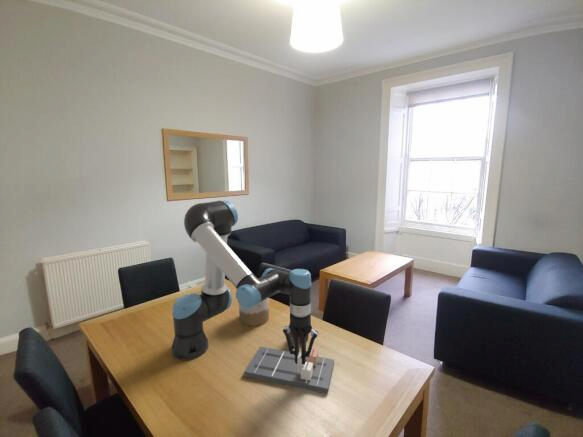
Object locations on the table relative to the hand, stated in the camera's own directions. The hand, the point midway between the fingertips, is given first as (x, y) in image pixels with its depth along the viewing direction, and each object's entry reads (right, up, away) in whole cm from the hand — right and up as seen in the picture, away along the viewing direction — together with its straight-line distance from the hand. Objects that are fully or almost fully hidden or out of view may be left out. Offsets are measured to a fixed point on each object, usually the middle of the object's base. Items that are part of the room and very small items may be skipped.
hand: (300, 370), depth 109 cm
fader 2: (+5, 0, +7) cm, 9 cm away
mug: (0, +1, +24) cm, 24 cm away
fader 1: (+2, -2, 0) cm, 3 cm away
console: (-4, -3, +6) cm, 7 cm away
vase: (-23, +4, +44) cm, 50 cm away
